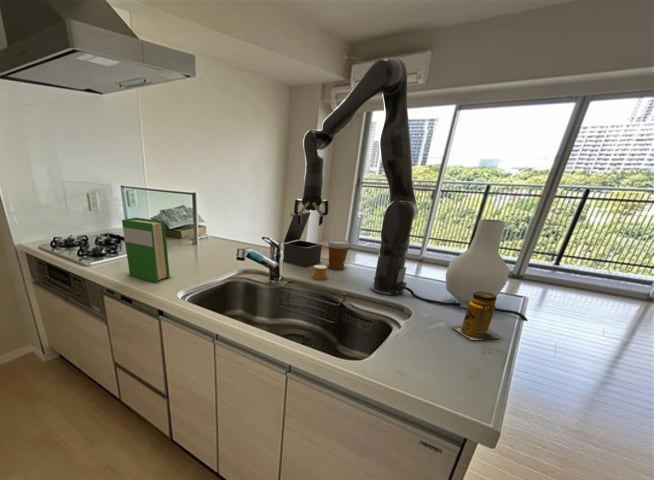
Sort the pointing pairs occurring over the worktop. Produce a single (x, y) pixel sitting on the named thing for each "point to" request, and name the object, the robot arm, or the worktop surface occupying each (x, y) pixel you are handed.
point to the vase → (479, 265)
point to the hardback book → (146, 248)
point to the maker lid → (296, 227)
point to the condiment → (479, 317)
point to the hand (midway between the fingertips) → (309, 224)
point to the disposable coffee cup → (337, 253)
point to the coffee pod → (320, 272)
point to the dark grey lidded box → (302, 253)
